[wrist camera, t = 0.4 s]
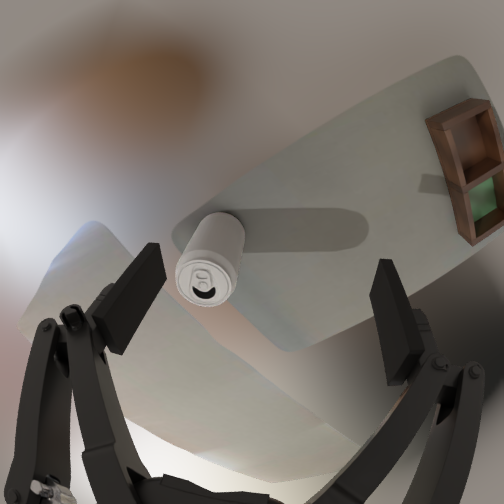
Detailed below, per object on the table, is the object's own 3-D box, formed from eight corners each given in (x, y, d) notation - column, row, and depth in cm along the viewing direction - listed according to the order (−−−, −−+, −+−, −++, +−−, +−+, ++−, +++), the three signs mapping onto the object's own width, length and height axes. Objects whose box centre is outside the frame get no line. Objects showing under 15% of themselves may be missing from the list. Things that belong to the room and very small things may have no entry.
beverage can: (201, 253, 39) (177, 309, 29) (196, 210, 36) (166, 256, 26) (246, 253, 39) (237, 311, 28) (244, 209, 36) (233, 257, 25)
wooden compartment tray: (424, 119, 27) (441, 123, 24) (470, 97, 24) (489, 100, 21) (458, 233, 35) (472, 246, 31) (497, 207, 31) (513, 218, 28)
